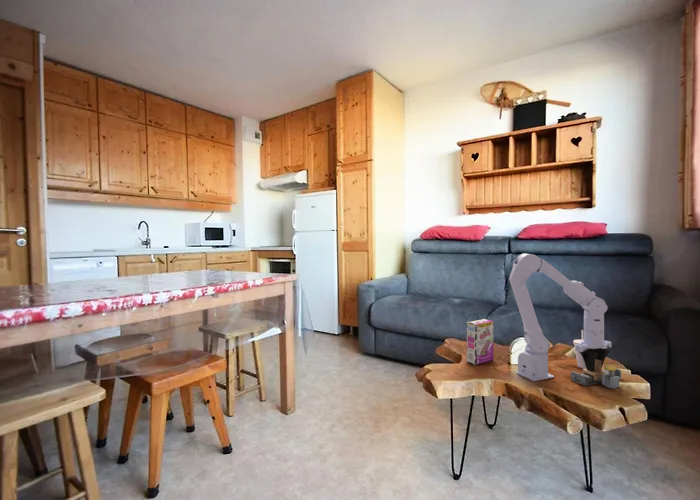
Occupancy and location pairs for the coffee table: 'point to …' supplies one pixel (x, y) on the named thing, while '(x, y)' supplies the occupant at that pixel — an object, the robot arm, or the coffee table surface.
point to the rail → (590, 377)
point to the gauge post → (610, 381)
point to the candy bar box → (480, 341)
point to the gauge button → (610, 370)
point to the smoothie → (578, 356)
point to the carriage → (595, 371)
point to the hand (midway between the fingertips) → (593, 369)
